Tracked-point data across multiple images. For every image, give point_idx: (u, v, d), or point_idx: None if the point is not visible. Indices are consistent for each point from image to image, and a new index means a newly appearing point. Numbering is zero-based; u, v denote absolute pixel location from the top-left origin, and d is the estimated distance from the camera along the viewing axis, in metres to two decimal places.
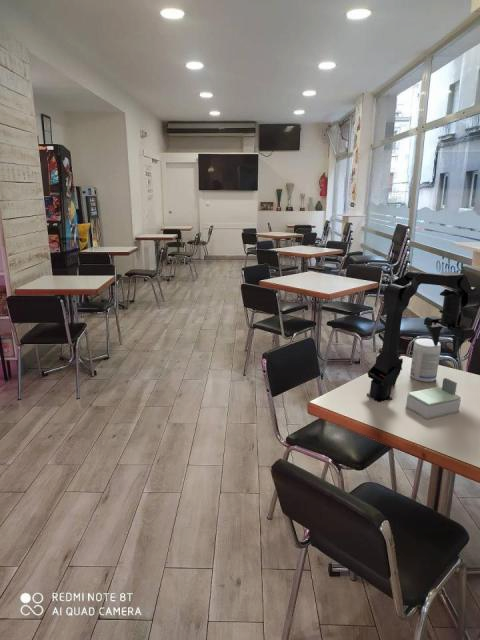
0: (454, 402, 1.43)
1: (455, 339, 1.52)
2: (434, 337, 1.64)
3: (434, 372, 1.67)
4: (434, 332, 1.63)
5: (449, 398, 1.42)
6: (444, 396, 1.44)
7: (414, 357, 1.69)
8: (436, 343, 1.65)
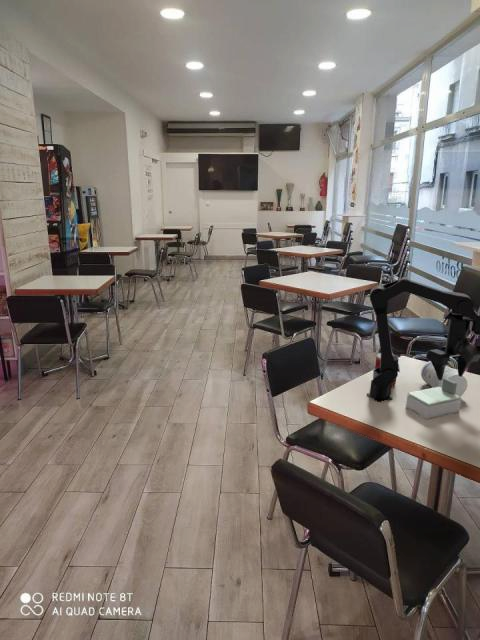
0: (454, 402, 1.43)
1: None
2: (458, 366, 1.48)
3: None
4: (459, 361, 1.47)
5: (449, 398, 1.42)
6: (444, 396, 1.44)
7: (433, 380, 1.58)
8: (460, 373, 1.47)
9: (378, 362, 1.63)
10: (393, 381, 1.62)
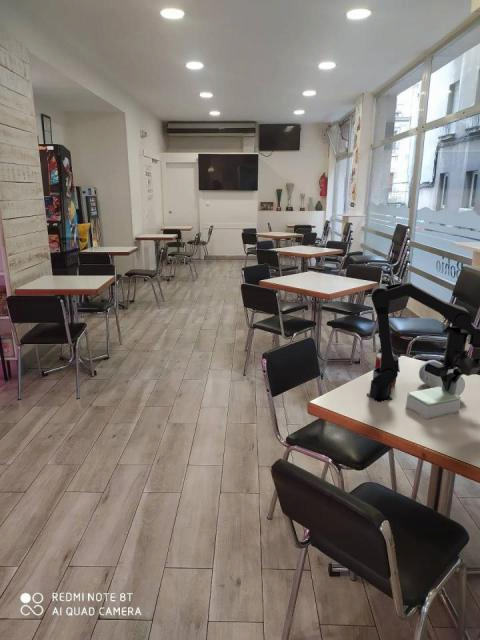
0: (454, 402, 1.43)
1: None
2: None
3: None
4: None
5: (449, 398, 1.42)
6: (444, 396, 1.44)
7: (430, 383, 1.58)
8: None
9: (378, 362, 1.63)
10: (393, 381, 1.62)
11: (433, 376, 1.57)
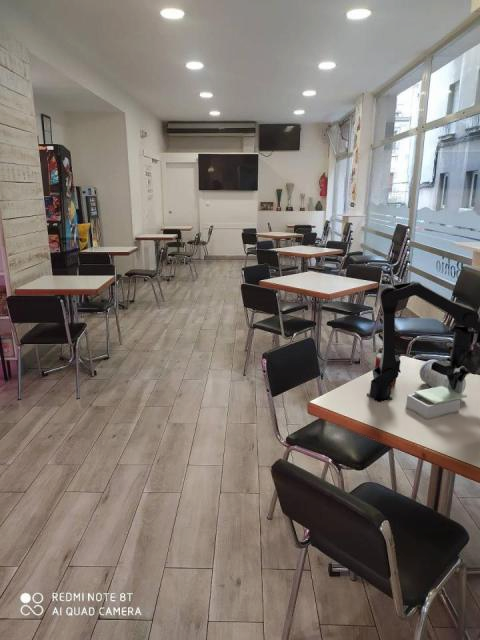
0: (454, 402, 1.43)
1: None
2: None
3: None
4: None
5: (455, 397, 1.43)
6: (450, 395, 1.45)
7: (431, 381, 1.58)
8: None
9: (378, 362, 1.63)
10: (393, 381, 1.62)
11: (434, 375, 1.57)
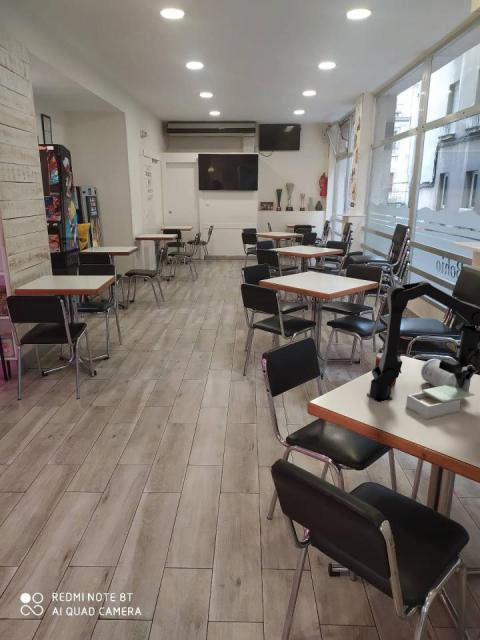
0: (454, 402, 1.43)
1: None
2: None
3: None
4: None
5: (463, 395, 1.45)
6: (458, 393, 1.46)
7: (434, 378, 1.59)
8: None
9: (378, 362, 1.63)
10: (393, 381, 1.62)
11: (438, 372, 1.58)
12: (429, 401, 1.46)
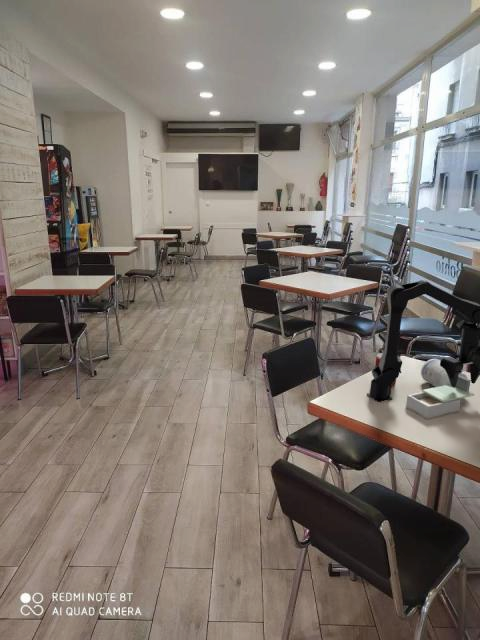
0: (454, 402, 1.43)
1: None
2: (471, 373, 1.51)
3: None
4: (472, 368, 1.51)
5: (463, 395, 1.45)
6: (458, 393, 1.46)
7: (434, 378, 1.59)
8: (472, 381, 1.51)
9: (378, 362, 1.63)
10: (393, 381, 1.62)
11: (438, 372, 1.58)
12: (429, 401, 1.46)
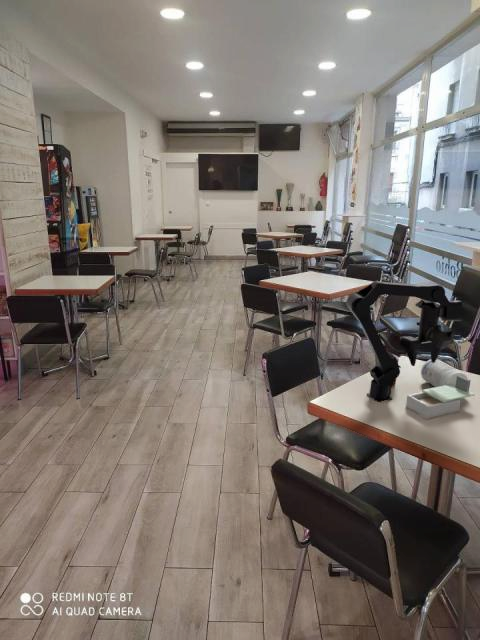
0: (454, 402, 1.43)
1: None
2: (431, 352, 1.54)
3: None
4: (432, 347, 1.53)
5: (463, 395, 1.45)
6: (458, 393, 1.46)
7: (434, 378, 1.59)
8: (432, 360, 1.53)
9: None
10: None
11: (438, 372, 1.58)
12: (429, 401, 1.46)
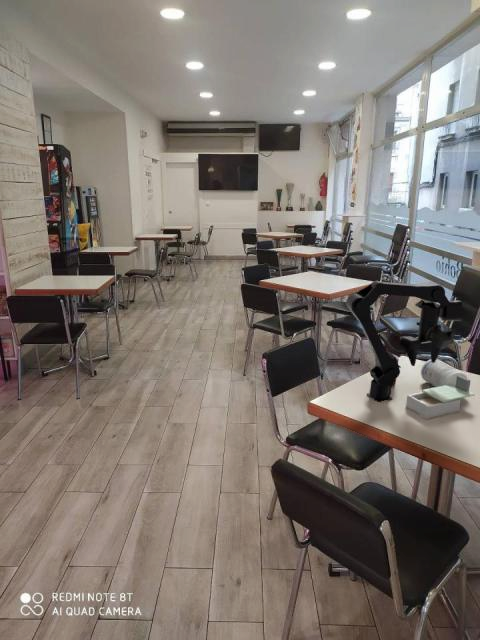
0: (454, 402, 1.43)
1: None
2: (431, 352, 1.54)
3: None
4: (432, 347, 1.53)
5: (463, 395, 1.45)
6: (458, 393, 1.46)
7: (434, 378, 1.59)
8: (432, 360, 1.53)
9: None
10: None
11: (438, 372, 1.58)
12: (429, 401, 1.46)
